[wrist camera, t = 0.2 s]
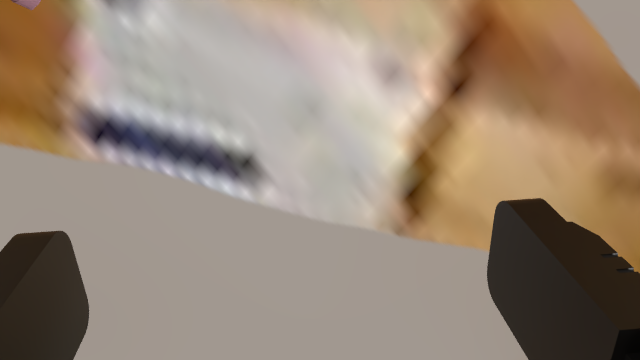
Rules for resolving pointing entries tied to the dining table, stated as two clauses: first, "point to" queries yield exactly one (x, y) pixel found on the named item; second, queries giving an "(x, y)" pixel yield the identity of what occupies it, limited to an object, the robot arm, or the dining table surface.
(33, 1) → the video game controller
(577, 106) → the dining table surface
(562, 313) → the robot arm
